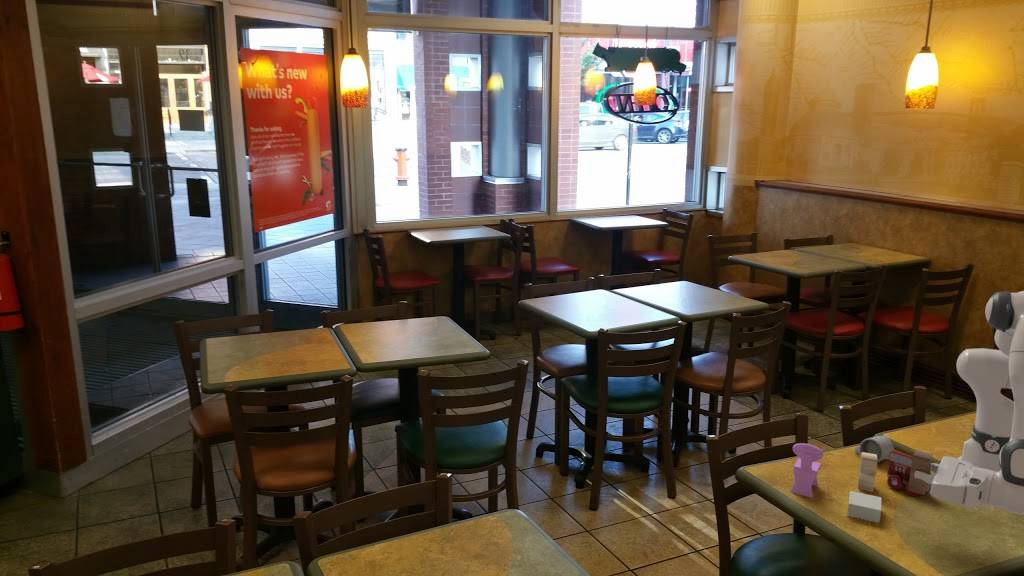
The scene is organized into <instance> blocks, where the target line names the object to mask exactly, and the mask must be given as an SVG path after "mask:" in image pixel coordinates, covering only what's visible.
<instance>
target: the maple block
mask: <svg viewBox="0 0 1024 576" xmlns="http://www.w3.org/2000/svg"><path fill="white" fill-rule="evenodd" d="M877 461H878V459H877V454H870V453H864V452H862V454H860V461H859V463H860V464H859V468H858V469H859V470H858V476H857V489H858V490H861V491H865V490H866V492H871V493H874V487H875V481H876V475H877V467H878V462H877Z"/></svg>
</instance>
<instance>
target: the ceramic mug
mask: <svg viewBox="0 0 1024 576" xmlns="http://www.w3.org/2000/svg"><path fill="white" fill-rule="evenodd" d="M894 447H895V446H894V444H893V441H892V440H891V439H890V438H889V437H887V436H885V435H876V436H873V437H868V438H865V439H863V440H862V441H861V443H860V444H859V446H857V447H855V448H854V452H855V454H860V455H861V454H862V452H864V453H870V454H877V459H878V461H877V463H880V462H882V461H884V460H886V459H889V453H890V452H891V451H892V450H895V449H894Z"/></svg>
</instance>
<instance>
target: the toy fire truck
mask: <svg viewBox="0 0 1024 576" xmlns="http://www.w3.org/2000/svg"><path fill="white" fill-rule="evenodd" d="M912 458H913V455H910V454H907V453H903V452H900V451H897V450H895V449H894V450H892V451H891V452H890V453H889V457H888V460H889V462H888V463H889V464H888V469H887V475H886V476H887V481H886V483H887V485H888V487H889V488H890V489H892V490H900V489H901V488H902V487H903V486H904V485H905V492H907V494H908V495H910V496H912V497H917V496H919V495H921V494H920V493H916V492H912V491H909V490H908V485H909V479H910V472H911V465H912ZM931 472H932V471H930V474H932V473H931ZM930 490H931V484H928V488H927V491H926V493H929V492H930Z"/></svg>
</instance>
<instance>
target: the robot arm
mask: <svg viewBox="0 0 1024 576" xmlns="http://www.w3.org/2000/svg"><path fill="white" fill-rule="evenodd" d="M984 309H985V310H984V311H985V312H984V313H985V319H986V323H987V324H988V325H989V326H990V327H991V328H993V329H995V333H994V343H995V345H996V347H997V348H998V349H992V348H982V347H981V348H978V347H977V348H966V349H965V350H963V351H962V352H961V353H960V354H959V356H958V357H957V360H956V371H957V373H958V376H959V377H960V378H961V379H962V380H963V381H965V383H967V384H968V385H969V387H970V388H971V390H972V392H973V393H974V396H975V398H976V412H975V413H976V415H975V420H974V421H975V422H974V424H973V426H972V429H971V436H970V438H969V439H967V440H966V441H964V443H963V448H962V452H961V455H960V456H959V457H957V458H956V457H953V456H947V455H946V456H945V455H944V456H942V457H941V460H940V463H936V462H935V463H934V462H933V463H932V462H931V468H930V472H933V473H934V474H932V473H931V474H930V475H929V474H927V473H924V472H923V471H922V470H918V469H917V470H916V471H915V474H914V477H915V478H918V479H922V480H923V481H925V482H927V483H928V484H931V490H930V491H929V492H930V493H929V494H930V495H931V496H932V497H934V498H936V499H938V500H941V501H945V502H948V503H950V504H951V503H952V504H955V505H963V507H964V508H965V509H968V510H974V509H976V508H978V507H982V506H986V507H991V508H992V507H994V508H999V509H1003V510H1005V511H1006V512H1008V513H1013V514H1016V515H1020V516H1024V290H1022V291H1018V292H1011V291H1005V290H1004V291H996V292H995V293H993V294H992V295H991V296H990V298H989V300H988V302H987V303H986V305H985V308H984ZM1002 389H1010V390H1011V392H1012V395H1013V400H1012V399H1010V398H1008V397H1007V396H1005V395H1003V394H1002V392H1001V390H1002Z"/></svg>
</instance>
